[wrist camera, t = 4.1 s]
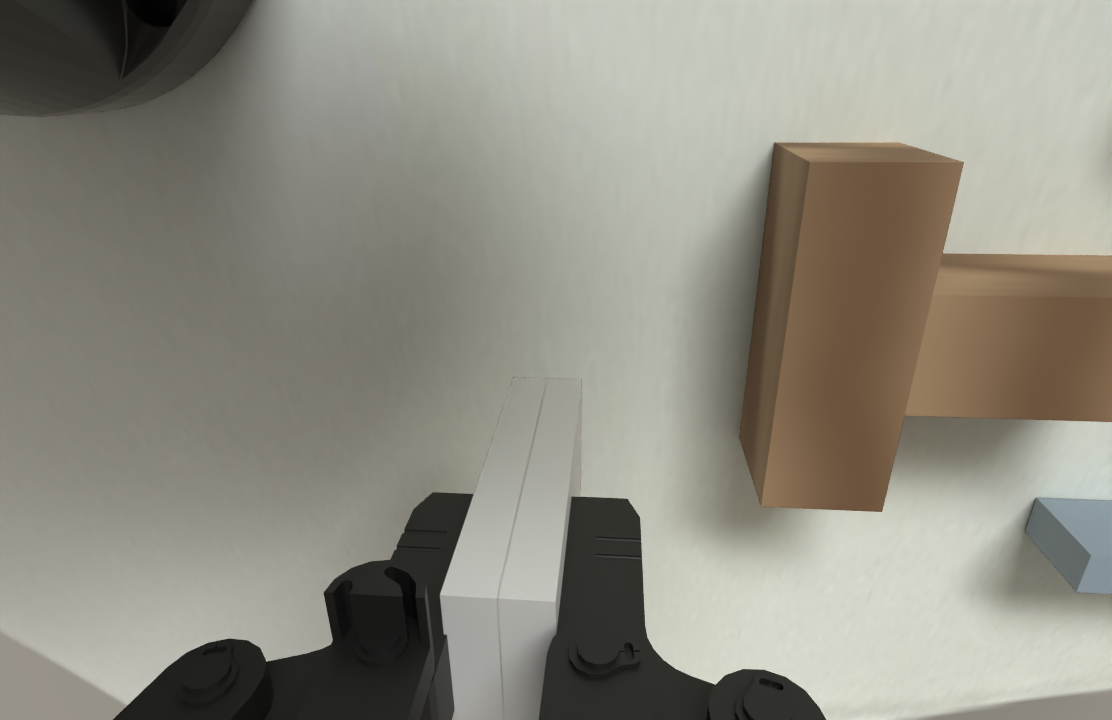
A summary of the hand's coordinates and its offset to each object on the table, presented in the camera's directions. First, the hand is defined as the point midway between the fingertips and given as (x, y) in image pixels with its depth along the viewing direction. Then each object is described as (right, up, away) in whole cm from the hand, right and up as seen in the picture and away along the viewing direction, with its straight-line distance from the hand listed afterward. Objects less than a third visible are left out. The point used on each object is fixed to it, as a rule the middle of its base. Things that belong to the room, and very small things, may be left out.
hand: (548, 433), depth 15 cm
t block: (+12, +3, +6) cm, 14 cm away
